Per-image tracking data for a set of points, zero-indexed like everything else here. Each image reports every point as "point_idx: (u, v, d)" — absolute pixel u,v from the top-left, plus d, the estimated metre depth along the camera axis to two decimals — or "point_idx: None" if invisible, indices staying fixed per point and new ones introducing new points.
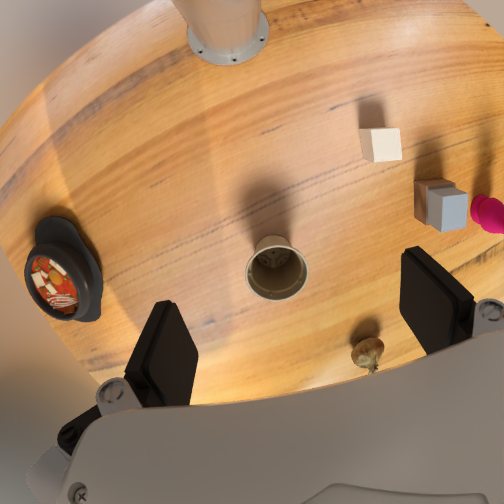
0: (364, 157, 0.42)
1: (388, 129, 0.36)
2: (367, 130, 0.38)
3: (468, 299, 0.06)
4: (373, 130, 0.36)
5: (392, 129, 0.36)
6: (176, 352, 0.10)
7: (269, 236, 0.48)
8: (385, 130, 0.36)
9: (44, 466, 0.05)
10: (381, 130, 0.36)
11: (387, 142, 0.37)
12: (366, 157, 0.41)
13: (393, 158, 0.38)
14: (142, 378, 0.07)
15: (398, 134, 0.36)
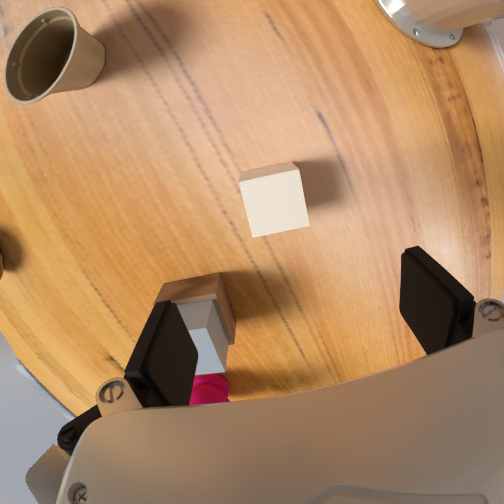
0: (242, 173, 0.27)
1: (303, 205, 0.24)
2: (294, 167, 0.23)
3: (468, 299, 0.06)
4: (298, 175, 0.23)
5: (305, 213, 0.24)
6: (176, 352, 0.10)
7: (102, 48, 0.20)
8: (301, 199, 0.23)
9: (44, 466, 0.05)
10: (300, 191, 0.23)
11: (279, 205, 0.24)
12: (243, 174, 0.26)
13: (251, 219, 0.24)
14: (142, 378, 0.07)
15: (297, 225, 0.24)
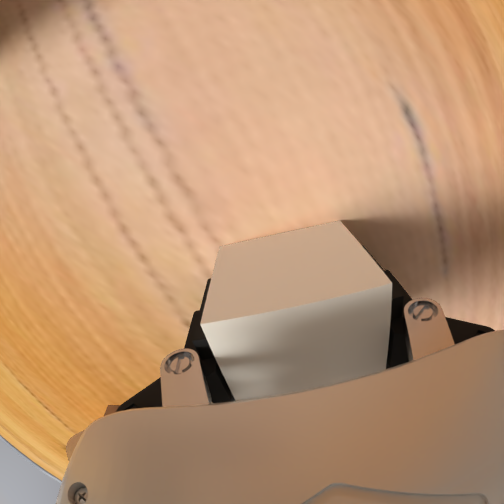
0: (221, 254, 0.11)
1: (381, 363, 0.08)
2: (369, 262, 0.08)
3: (396, 298, 0.07)
4: (386, 299, 0.07)
5: None
6: None
7: None
8: (379, 353, 0.08)
9: None
10: (381, 337, 0.07)
11: (319, 372, 0.08)
12: (222, 263, 0.10)
13: (244, 399, 0.08)
14: None
15: None
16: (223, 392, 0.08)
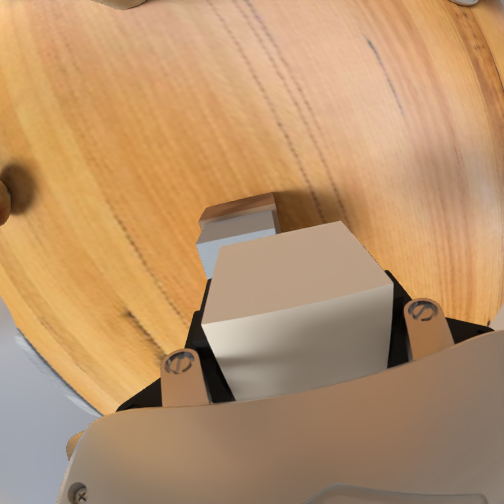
0: (222, 254, 0.11)
1: (382, 364, 0.08)
2: (370, 262, 0.08)
3: (396, 298, 0.07)
4: (387, 299, 0.07)
5: None
6: None
7: None
8: (380, 354, 0.08)
9: None
10: (383, 337, 0.07)
11: (320, 373, 0.08)
12: (223, 263, 0.10)
13: None
14: None
15: None
16: (223, 392, 0.08)
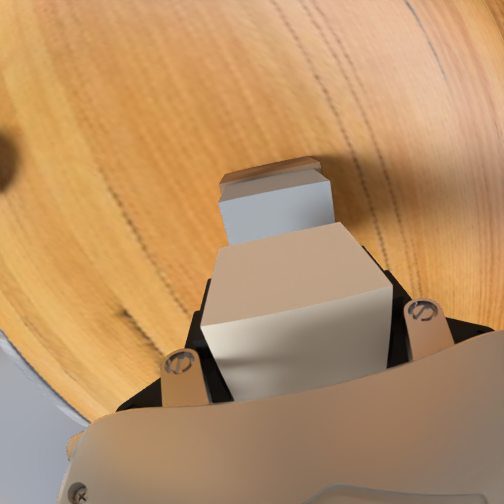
0: (221, 256, 0.11)
1: (382, 365, 0.08)
2: (369, 264, 0.08)
3: (396, 298, 0.07)
4: (386, 301, 0.07)
5: None
6: None
7: None
8: (379, 355, 0.08)
9: None
10: (382, 339, 0.07)
11: (319, 374, 0.08)
12: (222, 265, 0.10)
13: None
14: None
15: None
16: (223, 392, 0.08)
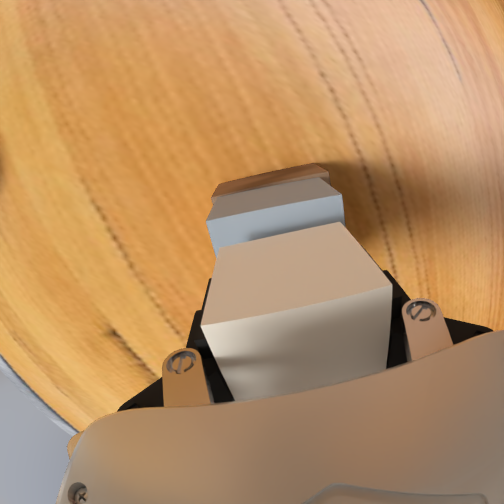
0: (221, 255, 0.11)
1: (381, 365, 0.08)
2: (369, 263, 0.08)
3: (394, 298, 0.07)
4: (386, 300, 0.07)
5: None
6: None
7: None
8: (379, 355, 0.08)
9: None
10: (382, 338, 0.07)
11: (319, 373, 0.08)
12: (222, 264, 0.10)
13: None
14: None
15: None
16: (225, 391, 0.08)
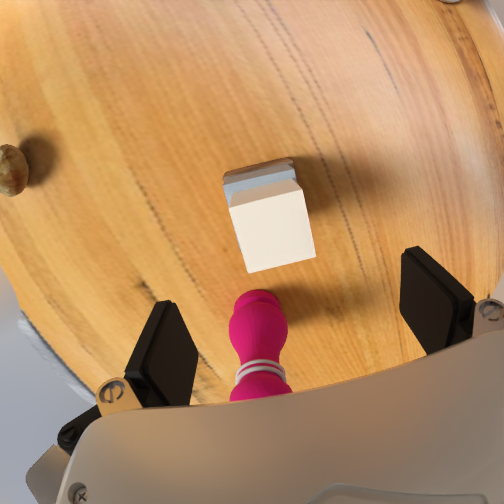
0: (234, 194, 0.23)
1: (309, 232, 0.20)
2: (296, 186, 0.20)
3: (468, 299, 0.06)
4: (301, 196, 0.19)
5: (310, 242, 0.20)
6: (176, 352, 0.10)
7: None
8: (305, 225, 0.19)
9: (44, 466, 0.05)
10: (304, 216, 0.19)
11: (279, 234, 0.20)
12: (235, 196, 0.22)
13: (246, 252, 0.20)
14: (142, 378, 0.07)
15: (301, 257, 0.20)
16: None
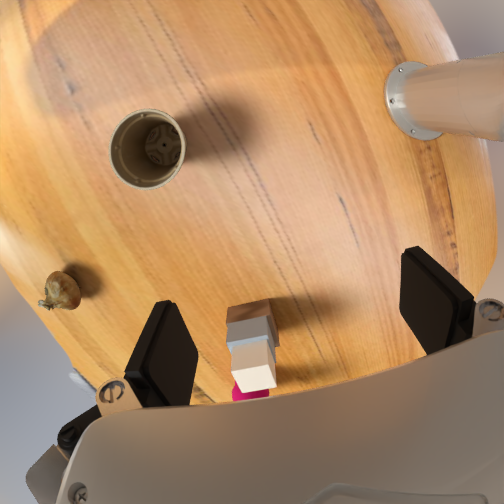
0: (233, 350, 0.39)
1: (272, 378, 0.36)
2: (266, 357, 0.36)
3: (468, 299, 0.06)
4: (267, 367, 0.35)
5: (273, 382, 0.36)
6: (176, 352, 0.10)
7: (184, 137, 0.35)
8: (270, 376, 0.35)
9: (44, 466, 0.05)
10: (269, 373, 0.35)
11: (256, 379, 0.36)
12: (234, 353, 0.38)
13: (240, 386, 0.36)
14: (142, 378, 0.07)
15: (269, 387, 0.36)
16: None
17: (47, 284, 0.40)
